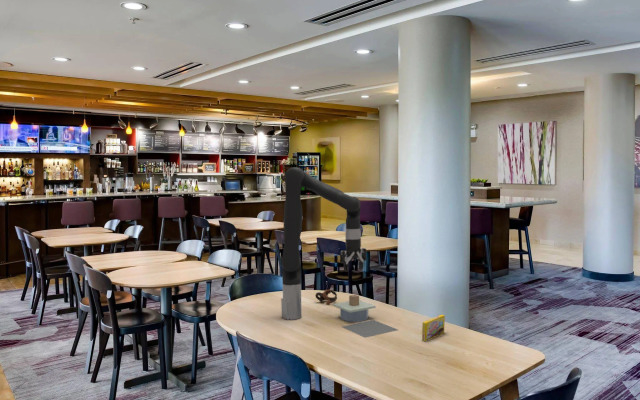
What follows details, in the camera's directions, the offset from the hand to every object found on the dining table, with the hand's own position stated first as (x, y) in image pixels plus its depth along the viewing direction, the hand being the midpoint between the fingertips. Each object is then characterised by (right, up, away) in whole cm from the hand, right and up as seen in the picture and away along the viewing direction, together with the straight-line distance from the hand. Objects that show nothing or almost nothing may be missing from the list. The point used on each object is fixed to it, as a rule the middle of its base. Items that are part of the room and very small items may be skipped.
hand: (353, 270), depth 259 cm
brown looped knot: (-13, -23, +33) cm, 42 cm away
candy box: (+33, -26, -28) cm, 50 cm away
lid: (0, -18, +1) cm, 18 cm away
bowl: (+1, -24, +1) cm, 24 cm away
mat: (+6, -25, -16) cm, 31 cm away
